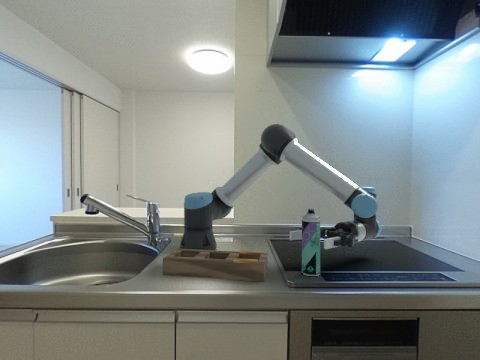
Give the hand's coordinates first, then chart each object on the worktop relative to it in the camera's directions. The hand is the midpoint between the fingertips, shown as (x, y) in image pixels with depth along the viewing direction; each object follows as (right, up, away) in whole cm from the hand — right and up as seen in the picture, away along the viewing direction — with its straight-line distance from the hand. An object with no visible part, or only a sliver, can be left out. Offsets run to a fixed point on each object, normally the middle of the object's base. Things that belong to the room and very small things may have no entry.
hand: (306, 239), depth 83 cm
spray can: (+2, -11, +1) cm, 11 cm away
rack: (-27, -11, +4) cm, 30 cm away
